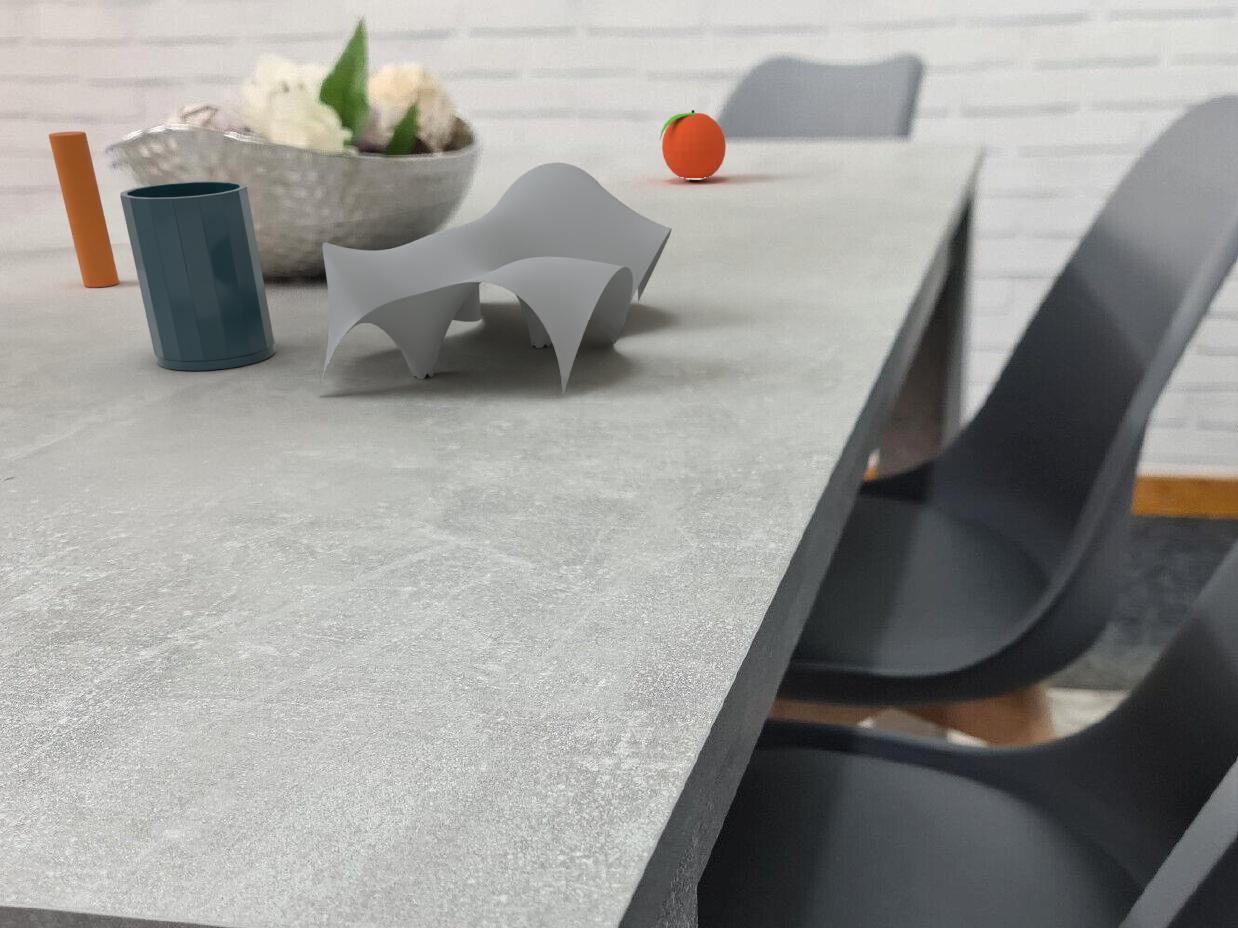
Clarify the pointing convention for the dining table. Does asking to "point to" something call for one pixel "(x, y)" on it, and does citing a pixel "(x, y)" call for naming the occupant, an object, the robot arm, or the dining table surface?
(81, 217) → the cylinder
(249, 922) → the dining table surface
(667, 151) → the clementine
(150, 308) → the can
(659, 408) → the dining table surface
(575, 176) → the sculpture
